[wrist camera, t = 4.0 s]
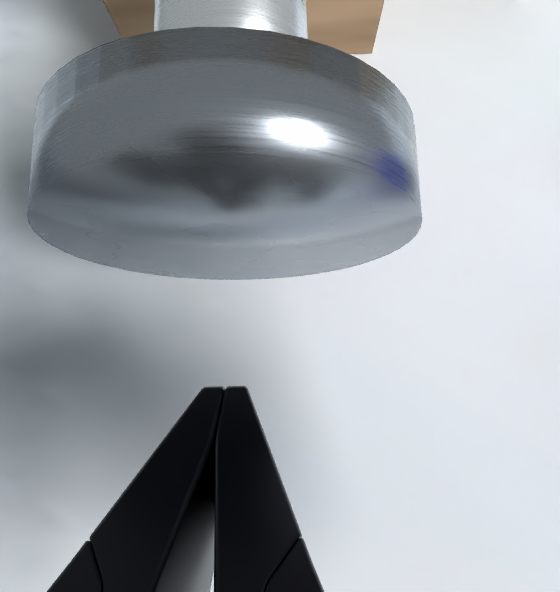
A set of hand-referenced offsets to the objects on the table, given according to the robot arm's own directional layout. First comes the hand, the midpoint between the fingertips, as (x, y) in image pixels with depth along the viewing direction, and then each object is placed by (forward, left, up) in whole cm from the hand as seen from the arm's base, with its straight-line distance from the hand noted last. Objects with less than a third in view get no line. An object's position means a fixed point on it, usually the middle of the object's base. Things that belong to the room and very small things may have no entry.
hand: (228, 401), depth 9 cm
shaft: (+7, +7, -5) cm, 10 cm away
